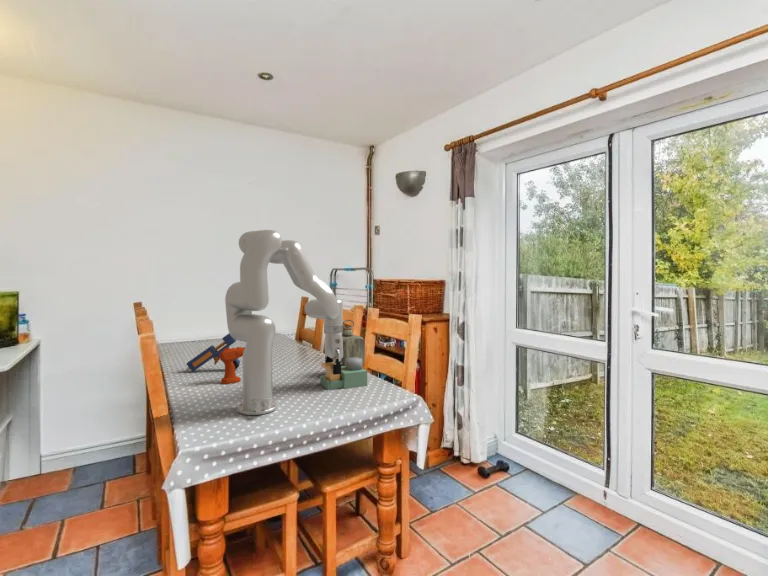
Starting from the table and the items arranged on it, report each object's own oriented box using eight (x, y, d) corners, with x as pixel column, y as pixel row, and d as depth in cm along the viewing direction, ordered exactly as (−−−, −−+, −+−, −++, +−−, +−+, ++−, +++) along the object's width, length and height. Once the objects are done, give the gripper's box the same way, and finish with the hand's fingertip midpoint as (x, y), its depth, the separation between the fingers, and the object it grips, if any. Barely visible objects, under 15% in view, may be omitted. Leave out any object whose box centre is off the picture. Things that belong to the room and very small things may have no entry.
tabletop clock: (353, 370, 188) (353, 317, 187) (366, 374, 182) (367, 319, 181) (328, 376, 178) (329, 320, 176) (342, 380, 171) (342, 322, 170)
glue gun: (201, 392, 185) (180, 367, 182) (258, 351, 192) (238, 326, 189) (199, 395, 179) (177, 369, 176) (257, 352, 186) (237, 327, 183)
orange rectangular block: (340, 386, 161) (340, 364, 161) (325, 388, 158) (325, 366, 158) (334, 383, 167) (335, 361, 166) (321, 384, 164) (321, 363, 163)
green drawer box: (367, 385, 163) (367, 361, 163) (329, 390, 156) (329, 365, 156) (355, 378, 174) (356, 355, 174) (319, 382, 167) (319, 358, 166)
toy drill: (267, 374, 174) (263, 340, 172) (223, 387, 162) (218, 351, 160) (263, 372, 177) (259, 339, 175) (219, 384, 165) (215, 349, 164)
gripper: (349, 332, 156) (349, 375, 157) (334, 326, 171) (334, 365, 172) (331, 333, 153) (331, 377, 153) (317, 327, 168) (317, 367, 169)
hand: (332, 371), depth 163 cm, fingers open, 9 cm apart
